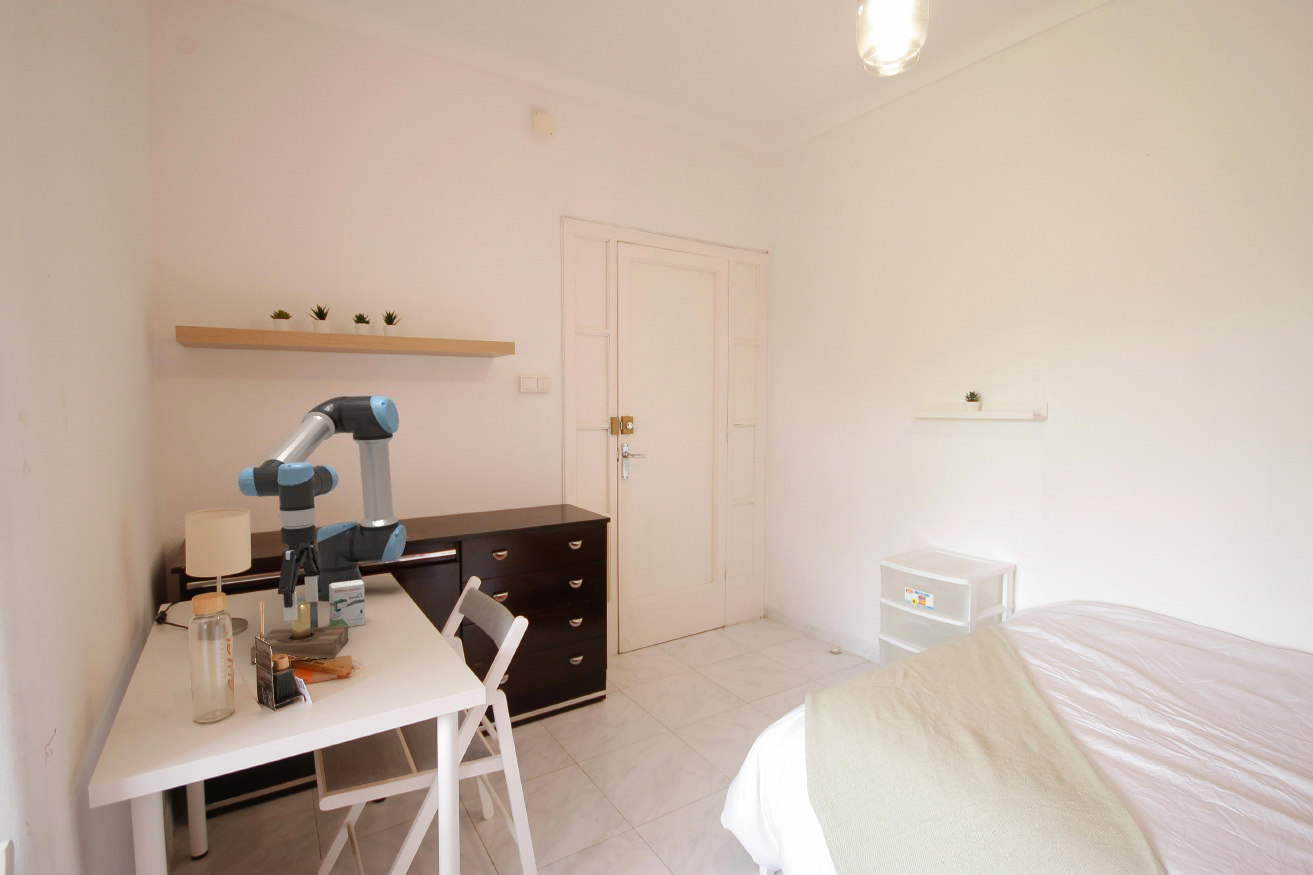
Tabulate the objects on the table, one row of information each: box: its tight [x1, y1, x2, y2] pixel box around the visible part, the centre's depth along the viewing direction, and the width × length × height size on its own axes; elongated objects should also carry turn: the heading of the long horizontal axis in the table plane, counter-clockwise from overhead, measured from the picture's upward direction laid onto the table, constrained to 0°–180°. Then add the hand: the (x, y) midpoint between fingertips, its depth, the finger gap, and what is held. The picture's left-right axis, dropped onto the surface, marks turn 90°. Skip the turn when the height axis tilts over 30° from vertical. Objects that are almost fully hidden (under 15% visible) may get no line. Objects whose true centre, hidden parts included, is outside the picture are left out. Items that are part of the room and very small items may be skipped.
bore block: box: [250, 625, 350, 665], centre depth 154 cm, size 12×18×4 cm, turn 100°
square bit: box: [297, 596, 319, 628], centre depth 165 cm, size 4×4×10 cm
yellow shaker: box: [291, 602, 311, 640], centre depth 154 cm, size 4×4×12 cm
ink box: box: [329, 580, 366, 628], centre depth 174 cm, size 9×5×12 cm, turn 124°
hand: (301, 610), depth 155 cm, fingers open, 13 cm apart
